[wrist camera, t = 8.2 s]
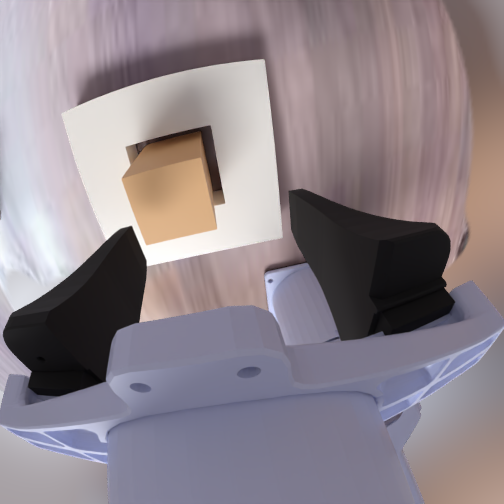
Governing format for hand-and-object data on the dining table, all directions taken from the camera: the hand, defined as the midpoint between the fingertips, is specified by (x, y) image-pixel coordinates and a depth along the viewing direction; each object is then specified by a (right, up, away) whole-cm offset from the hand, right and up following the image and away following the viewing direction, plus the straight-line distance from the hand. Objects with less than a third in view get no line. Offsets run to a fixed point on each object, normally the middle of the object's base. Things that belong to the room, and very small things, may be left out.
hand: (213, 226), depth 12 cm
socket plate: (-4, +5, +7) cm, 9 cm away
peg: (-4, +5, +7) cm, 9 cm away
